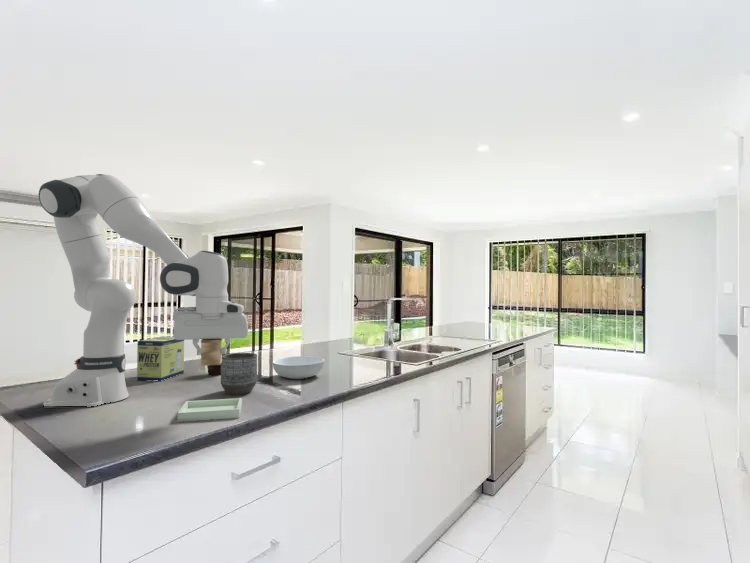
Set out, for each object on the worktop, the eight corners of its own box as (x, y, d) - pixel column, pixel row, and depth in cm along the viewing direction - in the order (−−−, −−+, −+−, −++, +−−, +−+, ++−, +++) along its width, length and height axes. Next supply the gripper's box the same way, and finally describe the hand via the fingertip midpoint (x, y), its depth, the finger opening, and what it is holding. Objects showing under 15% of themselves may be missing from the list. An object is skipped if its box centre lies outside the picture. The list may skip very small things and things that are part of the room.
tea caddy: (200, 365, 118) (200, 340, 118) (203, 362, 123) (203, 338, 123) (220, 364, 119) (220, 340, 119) (222, 361, 124) (222, 337, 124)
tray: (177, 421, 113) (177, 413, 113) (186, 409, 125) (186, 401, 125) (239, 417, 117) (239, 409, 117) (241, 405, 129) (242, 398, 129)
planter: (261, 387, 152) (261, 352, 152) (251, 396, 140) (251, 358, 140) (227, 387, 152) (228, 352, 152) (214, 396, 140) (215, 358, 140)
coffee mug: (206, 372, 177) (206, 349, 178) (227, 371, 180) (227, 348, 180) (203, 378, 166) (203, 353, 166) (226, 377, 169) (226, 352, 169)
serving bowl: (280, 371, 182) (280, 355, 182) (327, 372, 181) (328, 356, 181) (265, 382, 161) (265, 364, 161) (319, 383, 160) (319, 365, 160)
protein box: (136, 380, 162) (136, 340, 162) (161, 372, 177) (162, 336, 178) (161, 381, 161) (161, 341, 161) (184, 373, 176) (184, 336, 176)
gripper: (170, 307, 116) (170, 357, 116) (247, 307, 121) (247, 354, 121) (175, 306, 122) (175, 353, 122) (248, 305, 127) (248, 351, 127)
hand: (211, 354), depth 121 cm, fingers closed on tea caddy, 5 cm apart
